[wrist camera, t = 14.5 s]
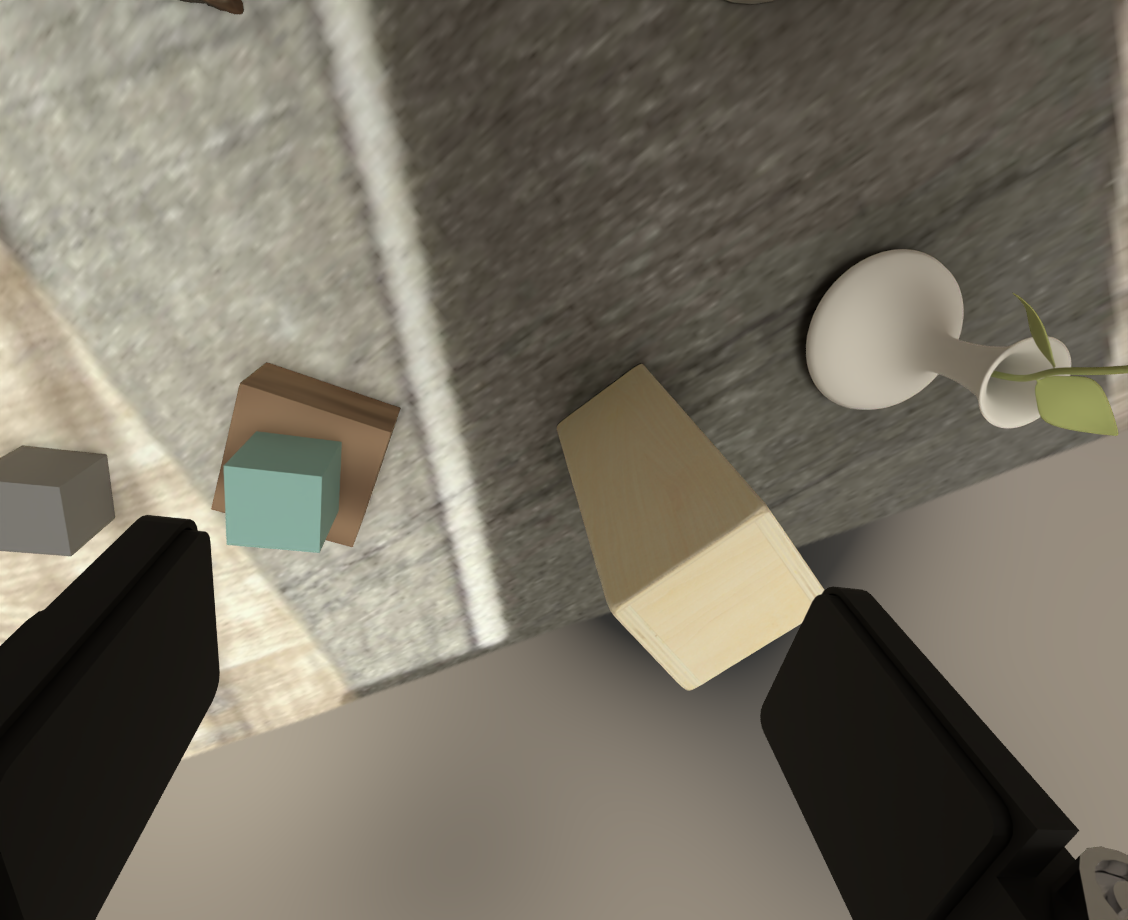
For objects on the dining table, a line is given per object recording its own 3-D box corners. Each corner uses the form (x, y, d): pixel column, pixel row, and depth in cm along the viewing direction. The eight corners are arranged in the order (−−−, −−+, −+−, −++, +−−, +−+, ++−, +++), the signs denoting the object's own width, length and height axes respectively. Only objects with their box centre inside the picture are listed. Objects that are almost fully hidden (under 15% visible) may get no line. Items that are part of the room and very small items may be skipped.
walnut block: (268, 361, 39) (239, 383, 34) (401, 406, 41) (390, 432, 37) (240, 475, 42) (211, 509, 37) (365, 511, 44) (352, 547, 40)
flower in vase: (956, 355, 45) (1437, 519, 22) (820, 428, 46) (1147, 654, 23) (918, 191, 39) (1505, 188, 17) (765, 279, 40) (1121, 386, 18)
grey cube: (23, 445, 39) (-37, 477, 34) (107, 454, 40) (59, 487, 35) (36, 510, 41) (-20, 549, 36) (115, 517, 42) (71, 556, 37)
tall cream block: (608, 494, 46) (695, 704, 27) (552, 426, 43) (606, 610, 24) (692, 434, 45) (845, 611, 26) (640, 361, 42) (771, 500, 23)
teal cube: (256, 431, 36) (223, 465, 31) (341, 441, 37) (321, 476, 32) (257, 502, 38) (226, 544, 33) (338, 510, 38) (319, 552, 34)
